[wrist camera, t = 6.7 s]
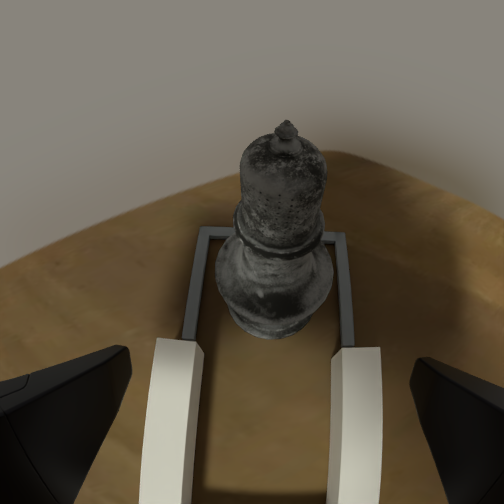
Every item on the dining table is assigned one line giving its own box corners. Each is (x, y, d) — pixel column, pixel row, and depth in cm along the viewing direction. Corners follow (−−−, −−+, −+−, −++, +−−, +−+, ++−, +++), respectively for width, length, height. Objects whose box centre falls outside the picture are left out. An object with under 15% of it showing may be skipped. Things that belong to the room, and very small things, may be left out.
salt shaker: (276, 237, 21) (288, 63, 10) (340, 301, 18) (422, 140, 8) (202, 290, 19) (147, 119, 9) (265, 365, 16) (281, 244, 6)
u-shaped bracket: (357, 540, 10) (371, 554, 8) (153, 531, 11) (137, 544, 9) (364, 358, 16) (379, 346, 14) (169, 350, 17) (157, 337, 15)
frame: (352, 346, 17) (354, 345, 16) (183, 339, 17) (181, 337, 17) (343, 235, 21) (344, 232, 20) (201, 229, 21) (200, 226, 21)
